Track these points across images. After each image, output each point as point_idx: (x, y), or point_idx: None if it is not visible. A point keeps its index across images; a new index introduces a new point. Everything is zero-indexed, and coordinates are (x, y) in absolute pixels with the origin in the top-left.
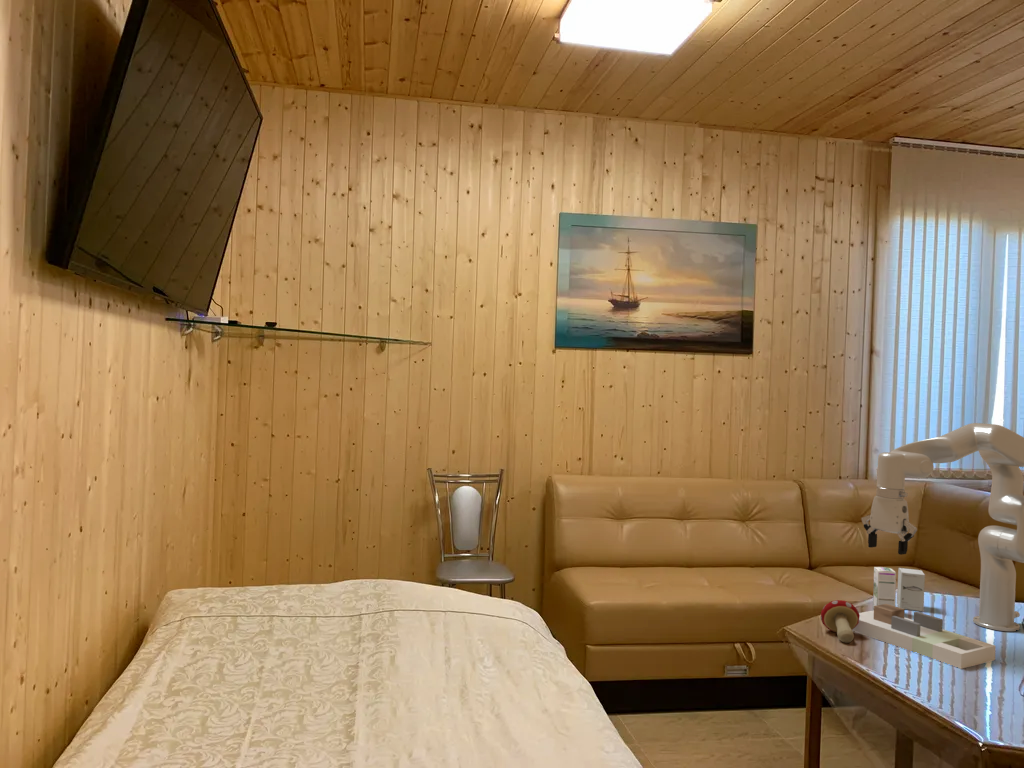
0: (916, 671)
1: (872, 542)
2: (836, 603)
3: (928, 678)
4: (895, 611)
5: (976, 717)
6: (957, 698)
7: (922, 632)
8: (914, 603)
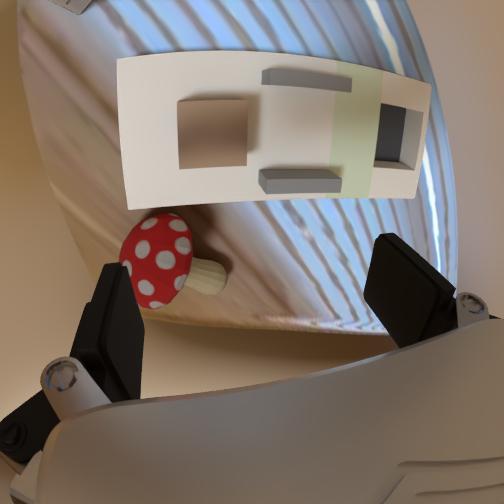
0: (360, 265)
1: (136, 340)
2: (164, 304)
3: None
4: (246, 147)
5: None
6: None
7: (317, 135)
8: None
